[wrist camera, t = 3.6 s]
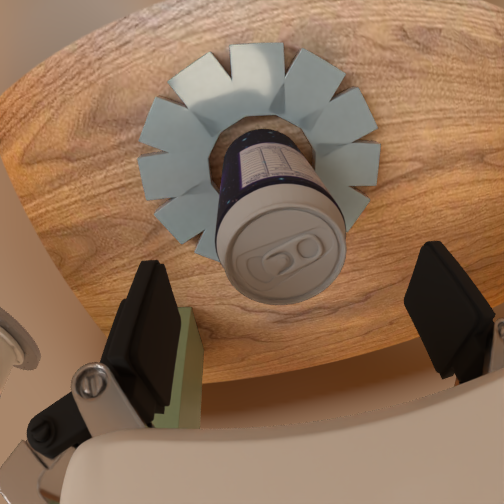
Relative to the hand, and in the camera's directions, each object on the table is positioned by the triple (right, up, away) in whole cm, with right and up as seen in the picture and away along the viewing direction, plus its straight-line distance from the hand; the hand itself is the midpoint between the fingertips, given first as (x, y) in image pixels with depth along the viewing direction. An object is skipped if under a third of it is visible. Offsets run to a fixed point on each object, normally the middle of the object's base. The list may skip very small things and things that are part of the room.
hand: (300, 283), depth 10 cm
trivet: (-1, +8, +11) cm, 14 cm away
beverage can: (-1, +8, +11) cm, 14 cm away
